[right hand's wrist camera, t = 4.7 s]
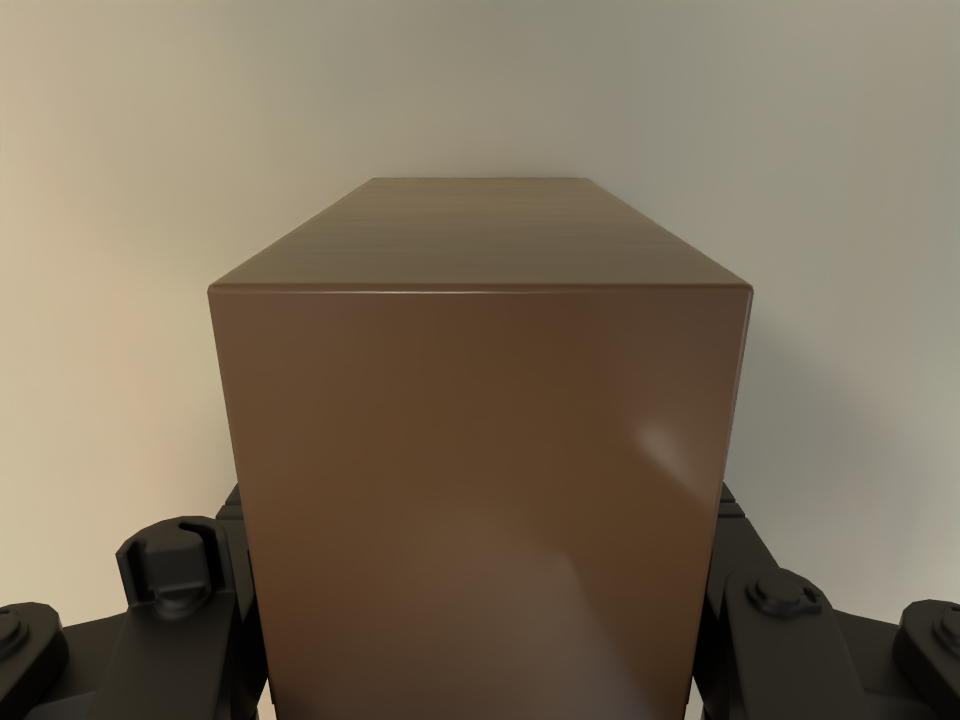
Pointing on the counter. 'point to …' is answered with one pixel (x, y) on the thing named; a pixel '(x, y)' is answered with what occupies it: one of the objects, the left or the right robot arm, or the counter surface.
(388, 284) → the post
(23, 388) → the counter surface
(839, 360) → the counter surface
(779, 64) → the counter surface
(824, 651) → the right robot arm
